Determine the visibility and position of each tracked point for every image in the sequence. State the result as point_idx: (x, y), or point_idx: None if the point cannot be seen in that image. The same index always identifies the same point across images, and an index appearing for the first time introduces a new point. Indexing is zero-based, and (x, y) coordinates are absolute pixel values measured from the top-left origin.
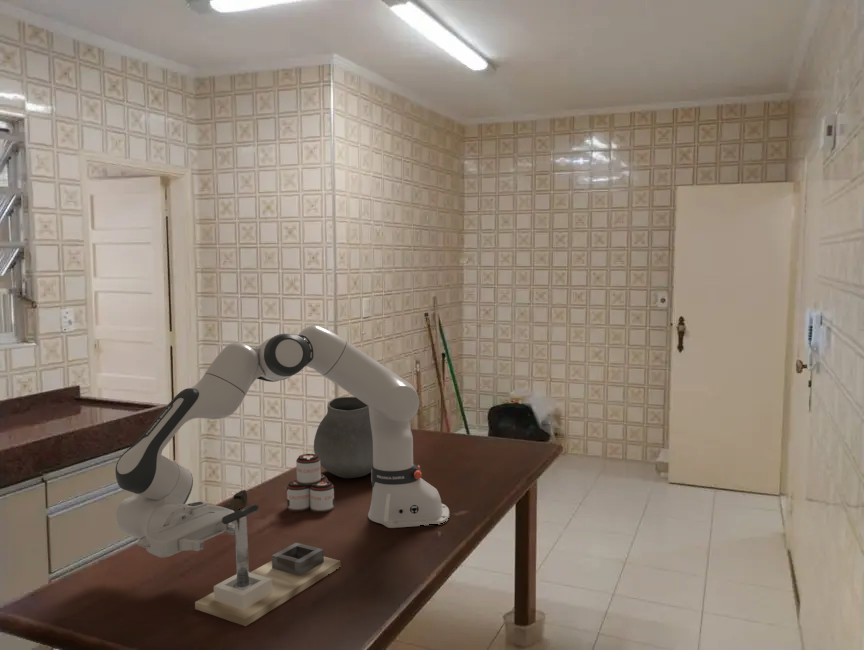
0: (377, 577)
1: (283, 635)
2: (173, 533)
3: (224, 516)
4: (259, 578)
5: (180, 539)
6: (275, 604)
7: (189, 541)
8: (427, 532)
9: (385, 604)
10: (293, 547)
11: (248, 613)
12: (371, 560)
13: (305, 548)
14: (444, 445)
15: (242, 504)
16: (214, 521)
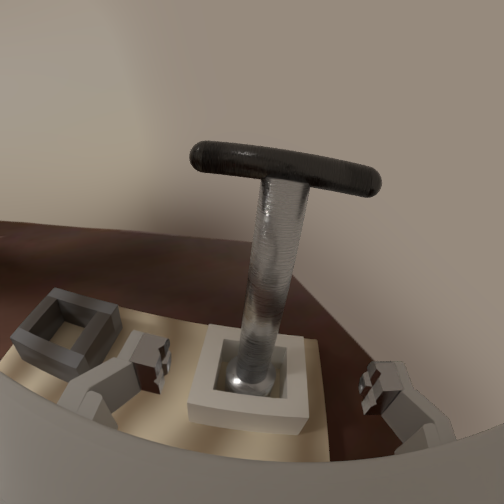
0: (102, 259)
1: (298, 300)
2: (473, 486)
3: (373, 168)
4: (216, 346)
5: (447, 442)
6: None
7: (423, 397)
8: None
9: (176, 243)
10: (34, 335)
11: None
12: (47, 273)
13: (43, 314)
14: None
15: None
16: (144, 439)
